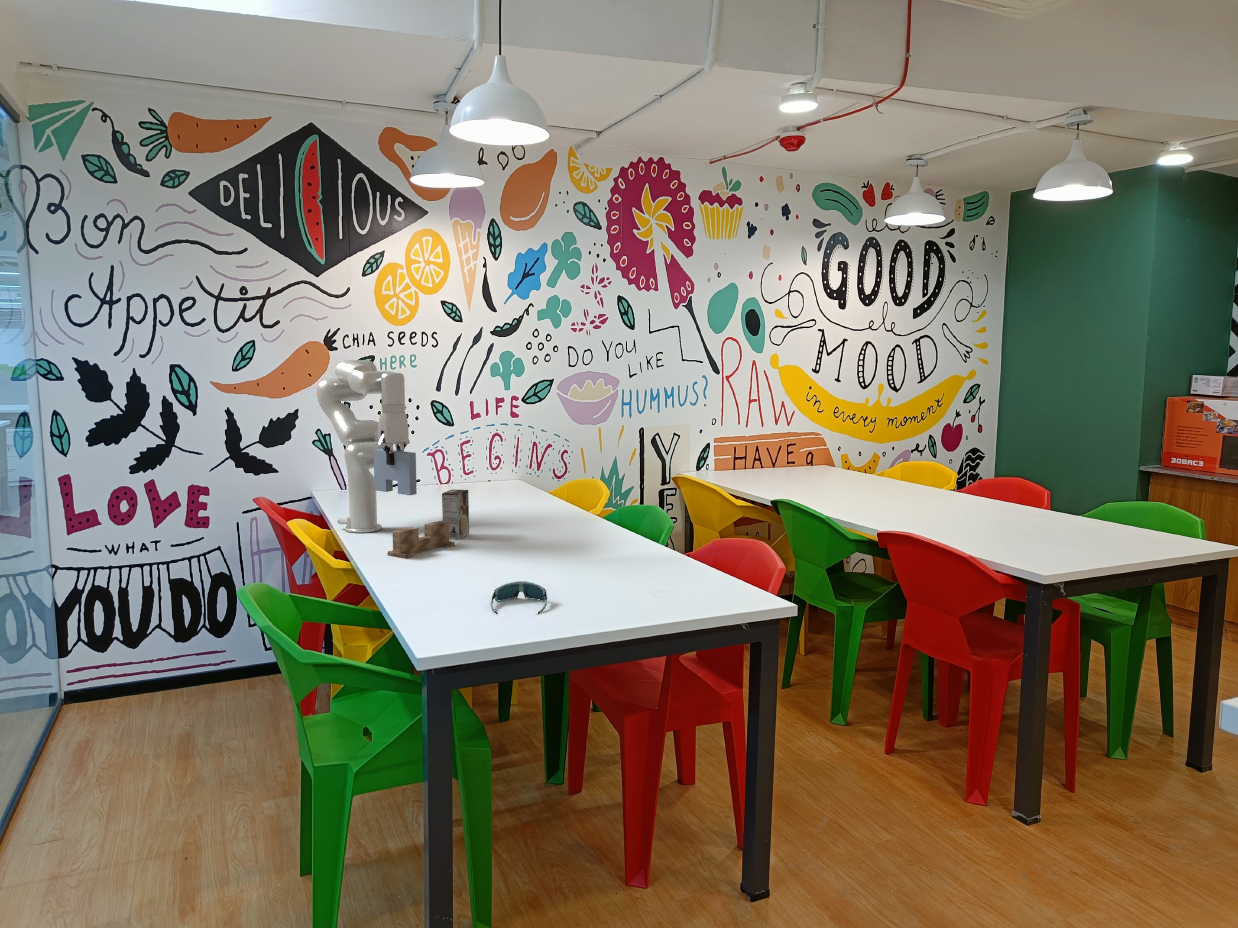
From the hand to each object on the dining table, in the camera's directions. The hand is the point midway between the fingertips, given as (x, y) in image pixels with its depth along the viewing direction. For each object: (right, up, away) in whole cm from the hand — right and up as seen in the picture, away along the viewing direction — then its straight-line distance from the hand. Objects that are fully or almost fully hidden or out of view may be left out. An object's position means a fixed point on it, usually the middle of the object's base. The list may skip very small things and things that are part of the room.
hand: (394, 463), depth 287 cm
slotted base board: (+12, -28, -10) cm, 32 cm away
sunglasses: (+50, -37, -70) cm, 94 cm away
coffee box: (+19, -26, +11) cm, 34 cm away
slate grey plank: (0, -10, +1) cm, 10 cm away
